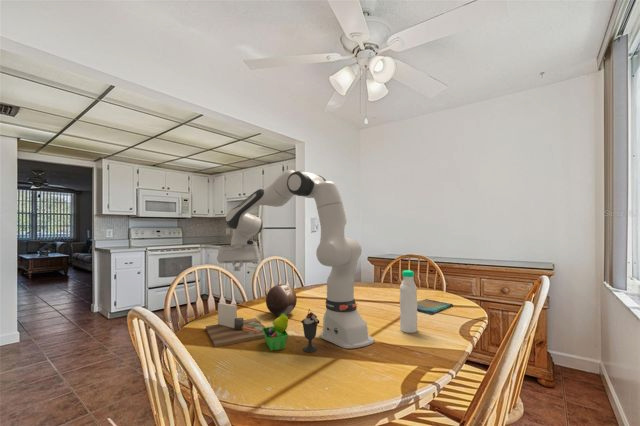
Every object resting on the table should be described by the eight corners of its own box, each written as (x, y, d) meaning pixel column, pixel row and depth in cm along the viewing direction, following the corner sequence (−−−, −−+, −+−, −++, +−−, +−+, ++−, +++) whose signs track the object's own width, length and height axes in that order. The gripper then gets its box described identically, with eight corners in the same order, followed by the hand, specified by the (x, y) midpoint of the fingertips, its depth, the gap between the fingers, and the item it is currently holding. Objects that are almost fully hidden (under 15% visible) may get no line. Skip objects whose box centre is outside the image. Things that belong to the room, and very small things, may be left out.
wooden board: (272, 336, 123) (272, 332, 123) (214, 347, 112) (215, 343, 112) (255, 320, 142) (255, 317, 142) (205, 328, 132) (205, 325, 132)
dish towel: (401, 308, 163) (401, 304, 163) (424, 301, 178) (424, 296, 179) (431, 316, 150) (431, 311, 150) (453, 307, 166) (453, 302, 166)
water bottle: (418, 329, 131) (417, 270, 131) (416, 334, 124) (415, 272, 125) (401, 326, 134) (401, 269, 134) (398, 332, 127) (398, 271, 128)
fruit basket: (261, 341, 118) (262, 311, 119) (284, 338, 121) (284, 309, 122) (267, 353, 108) (267, 320, 108) (292, 349, 111) (292, 317, 111)
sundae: (305, 355, 106) (305, 311, 106) (298, 348, 111) (297, 306, 112) (322, 351, 109) (322, 308, 109) (314, 344, 115) (314, 304, 115)
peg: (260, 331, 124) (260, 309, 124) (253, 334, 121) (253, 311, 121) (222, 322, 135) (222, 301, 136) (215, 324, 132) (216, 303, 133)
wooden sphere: (283, 322, 140) (283, 289, 141) (259, 316, 148) (259, 285, 149) (302, 313, 153) (302, 283, 153) (279, 309, 161) (279, 280, 161)
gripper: (217, 242, 153) (213, 268, 145) (258, 241, 153) (256, 267, 145) (221, 248, 158) (216, 273, 151) (260, 247, 158) (258, 272, 151)
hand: (236, 270), depth 148 cm, fingers closed
